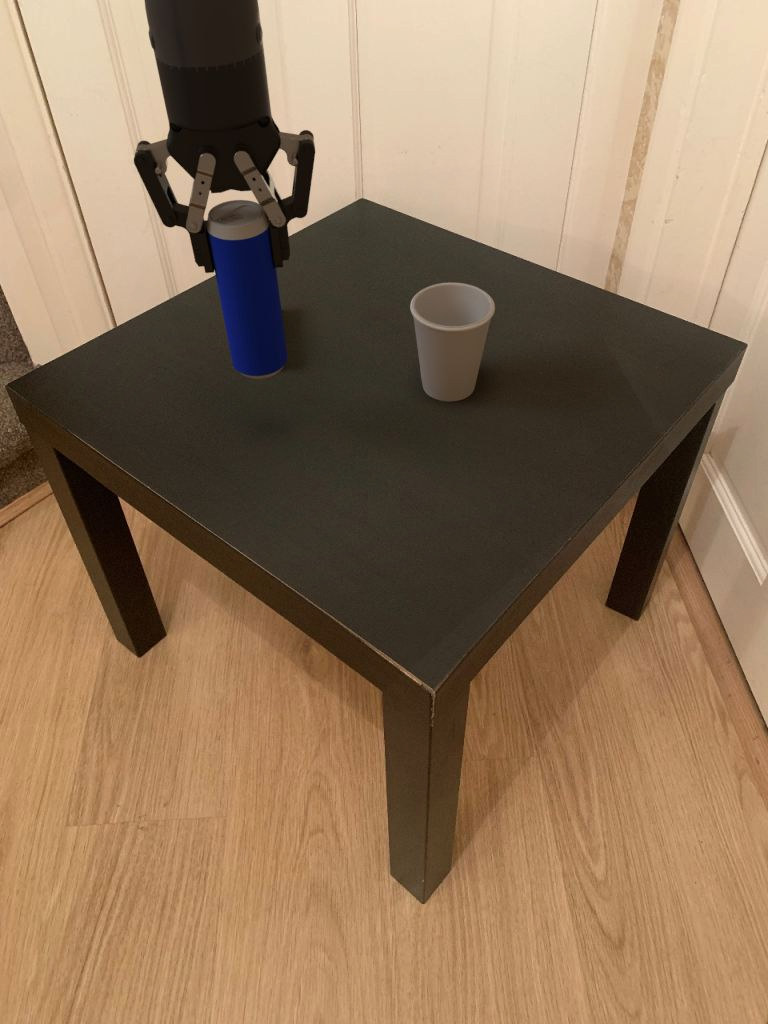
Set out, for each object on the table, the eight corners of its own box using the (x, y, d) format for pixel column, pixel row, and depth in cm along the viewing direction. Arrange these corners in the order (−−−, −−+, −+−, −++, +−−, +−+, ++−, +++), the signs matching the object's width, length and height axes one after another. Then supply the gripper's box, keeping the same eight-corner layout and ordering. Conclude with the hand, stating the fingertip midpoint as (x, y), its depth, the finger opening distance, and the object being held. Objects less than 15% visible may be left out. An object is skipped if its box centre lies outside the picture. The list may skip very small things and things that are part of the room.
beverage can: (265, 342, 77) (242, 192, 66) (299, 364, 75) (281, 212, 64) (222, 365, 75) (191, 213, 64) (256, 388, 72) (230, 235, 61)
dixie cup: (417, 414, 82) (418, 332, 75) (404, 365, 88) (403, 285, 81) (496, 405, 83) (504, 323, 76) (477, 357, 89) (484, 277, 81)
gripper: (309, 20, 58) (326, 238, 70) (110, 31, 57) (162, 249, 69) (314, 55, 53) (331, 283, 65) (95, 67, 52) (155, 296, 64)
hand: (244, 264), depth 67 cm, fingers closed on beverage can, 5 cm apart
